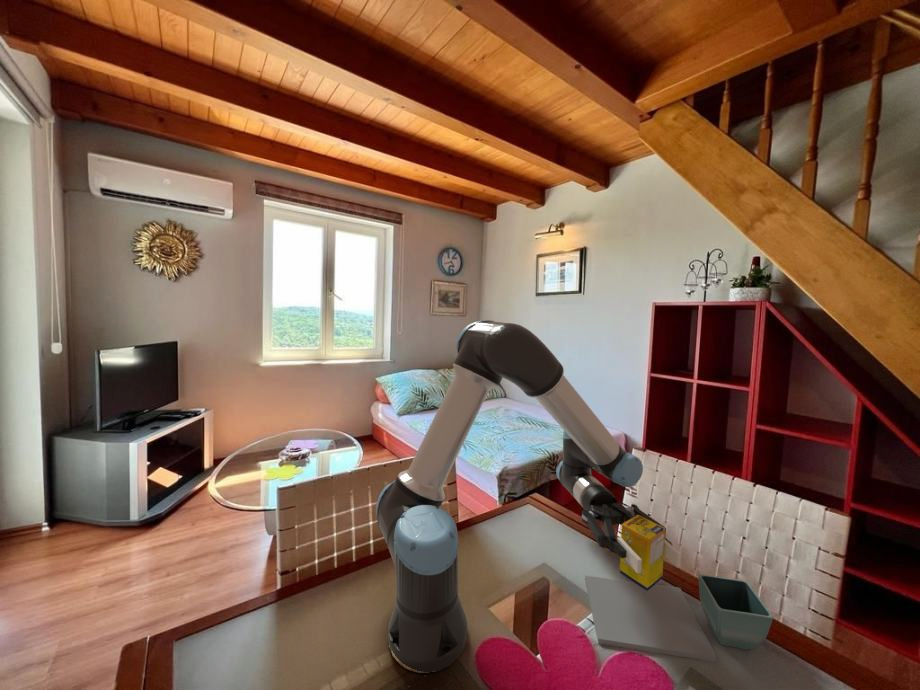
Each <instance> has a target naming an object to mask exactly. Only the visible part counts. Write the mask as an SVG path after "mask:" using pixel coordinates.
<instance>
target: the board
mask: <svg viewBox="0 0 920 690" xmlns="http://www.w3.org/2000/svg"><path fill="white" fill-rule="evenodd" d="M584 580H585V585H586V591H587V597H588V601H589V605H590V612H591V614H592V621H593V624H594V630H595V634H596V639H597V644H599V645H607V646H612V647H620V648H625V649H631V650H632V649H633V650H637V651H645V652H650V653H657V654H664V655H670V656H676V657H680V658H681V657H683V658H688V659H693V660H694V659H695V660H701V661H707V662H708V661H709V662H714V663H717V654H716V653H715V651H714V649H713V647H712V645H711V644H710V642H709V640H708V638H707V636H706V634H705V632H704V631H703V629H702V626H701V625H700V623H699V621H698V619H697V617H696V616H695V613H694V611H693V610H692V608H691V606H690V604H689V603H688V600H687V598H686V597H685V595H684V593H683V591H682V589H681V587H677V586H668V585H661V584H655V585H654V586H653V587H651V588H650V589H649V590H648V591H646V590H645V589H643V588H641V587H640V586H638V585H637V584H635V583H634V582H632V581H631V580H621V579H616V578H615V579H614V578H607V577H600V576H599V577H598V576H592V575H585V576H584Z"/></svg>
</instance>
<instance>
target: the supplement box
mask: <svg viewBox="0 0 920 690" xmlns="http://www.w3.org/2000/svg"><path fill="white" fill-rule="evenodd" d="M664 527H665V526H664ZM664 527H662V526H660V525H658V524H656V523H654V522H652V521H650V520H648V519H646V518H644V517H642V516H640V515H636V516H635V517H633V518H631V519H630V520H628V521H626V522H625V523H623V524H622V525H621V536H620V537H621V538H622V539H623V540H624V541H625V542H626V543H627V544H628V545H629V547H630V548H631V549H632V550H633V551H634V552H635V553H636V554H637V555H638V556H639V557H640V558H641V559H642V563H641V573H636V571H635V570H634V569H633V568H632V567H631V566H630V565H629V563H628V562H627V561H626V560H625V559H624V558H621V557H619V559H620V560H619V574H620V575H622V576H623V577H625V578H626V579H628V581H631V582H634V583H635V584H637V585H638V586H640V587H641V588H643V589H645V590H646V591H648V590H649V589H650V588H651V587H653V586H654V585H657V583H659V581H661V580H662V579H663V574H664V573H663V571H664V558H665V556H664V543H665V528H666V527H665V528H664Z"/></svg>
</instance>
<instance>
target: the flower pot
mask: <svg viewBox="0 0 920 690" xmlns="http://www.w3.org/2000/svg"><path fill="white" fill-rule="evenodd" d="M698 590H699V600H700V604H701V608H702V611H703V613H704V616H705V617H706V620H707V622H708V623H709V626H710V628H711V629H712V630H711V631H713V633H714V635H715V637H716V640H717V641H718V643H719V644H720V645H722V646H727V647H732V648H738V649H744V650H745V649H746V650H752V649H755V648H757V647H759V646H761V645H762V644H763V642H764V641H765V640H766V638H767V636H768V634H769V632H770V631H769V630H770V628H771V625H772V623H773V619H774V616H773V614H772V612H771V611H770V610H769V608H768V607H767V606H766V605H765V603H764V602H763V601H762V599H761V598H760V597H759V595H758V593H756V592H755V590H754V589H753V587H752V586H751V584H750V583H749V582H748V581H747V580H743V579H737V578H728V577H721V576H715V575H708V574H698Z"/></svg>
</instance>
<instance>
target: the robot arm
mask: <svg viewBox="0 0 920 690" xmlns="http://www.w3.org/2000/svg"><path fill="white" fill-rule="evenodd" d="M456 351H457V356H456V358H455V360H454V362H453V364H452V366H453V369H454V372H455V374H454V377H453V378H452V381H451V383H450V385H449V386H448V389H447V391H446V393H445V395H444V396H443V399H442V400H441V403H440V405H439V407H438V409H437V411H436V413H435V415H434V416H433V419H432V420H431V424H430V425H429V427H428V429H427V432H426V433H425V436H424V437H423V439H422V442H421V443H420V446H419V447H418V449H417V451H416V454H415V456H414V457H413V460H412V461H411V464H410V465H409V468H408V469H405V470H403V471H401V472H399V473H398V474H397V477H396V478H395V480H393V481H392V482H391V483H388V484H387V485H386V486H385V487H384V488H383V489H382V491H381V492H380V494H379V496H378V499H377V501H376V505H375V514H376V520H377V525H378V526H379V529H380V531H381V533H382V536H383V538H384V540H385V543H386V545H387V548H388V551H389V554H390V556H391V558H392V561H393V564H394V568H395V569H394V571H395V588H396V589H395V596H396V600H395V603H394V606H393V609H392V613H391V616H390V618H389V623H388V626H387V627H388V629H387V642H388V641H389V645H390V648H391V650H392V651H393V653H394V654H395V656H396V657H397V658H398V659H399V660H400V661H401V662H402V663H403V664H405V665H406V666H408V667H410V668H412V669H415V670H417V671H421V672H422V671H423V672H432V671H438V670H441V671H443V670H445V669H446V667H447V666H448V667H450V666H452V665H453V664H454V663H455V662H456V661H457V660H458V659H459V658H460V656H461V655H462V653H463V652H462V651H464V650H463V649H465V647H466V644H467V641H466V640H467V639H468V622H467V616H466V614H465V610H464V608H463V605H462V603H461V599H460V597H459V595H458V594H459V593H458V592H459V590H458V589H459V588H458V587H459V585H458V584H459V581H458V580H459V577H458V576H459V537H458V535H459V534H458V529H457V524H456V522H455V520H454V518H453V516H452V515H451V514H450V513H449V512H448V511H447V510H445V509H443V508H441V507H442V504H443V502H444V501H445V498H446V496H445V495H446V494H445V491H444V488H443V487H444V485H445V482H446V480H447V479H448V476H449V475H450V472H451V470H452V469H453V466H454V463H455V462H456V459H457V458H458V455H459V454H460V451H461V449H462V448H463V445H464V443H465V441H466V439H467V436H468V435H469V432H470V431H471V429H472V427H473V425H474V422H475V420H476V418H477V416H478V415H479V413H480V410H481V409H482V405H483V404H484V402H485V400H486V398H487V395H488V393H489V392H490V391H491V390H494V389H497V388H498V387H499V386H500V383H501V381H502V380H503V379H504V380H505V379H506V380H507V381H509V382H510V383H513V384H514V385H516V386H517V387H518V388H519V389H520V390H521V391H522V392H523V393H524V394H525V395H526V396H527V397H530V398H535V400H537V401H538V403H539V404H540V405H541V406H542V407H543V408H544V409H545V410H546V412H547V413H548V414H549V416H551V417H552V419H554V421H555V422H556V423H557V424H558V425H559V426H560V427H561V429H562V430H563V436H562V460H561V461H560V462H559V463H558V465H557V468H556V477H557V479H558V480H559V482H560V484H561V485H562V487H564V488H565V489H566V490H567V491H568V493H570V495H571V496H572V497H573V499H575V500H576V501H577V503H578V504H579V505H580V506H581V508H583V509H582V511H581V521H582V523H584V524H585V525H586V526H587V527H588V528H589V531H590V532H591V534H592V535H593V538H594V539H595V541H596V542H597V544H598V546H599V548H602V549H605V548H606V547H609V548H608V550H609V552H610V553H615V554H616V555H617V556H619V558H620V557H621V558H624V559H625V560H626V561H627V562H628V563H629V565H630V566H631V567H632V568H633V569H634V570H635V571H636V573H641V563H642V559H641V558H640V557H639V556H638V555H637V554H636V553H635V552H634V551H633V550H632V549H631V548H630V547H629V545H628V544H627V543H626V542H625V541H624V540H623V539H622V538H621V536H620V537H617V535H616V533H615V528H614V526H616V525H620V526H622V524H623V523H625V522H626V521H628V520H630V519H631V518H633V517H635V516H636V515H640V516H642V517H644V518H646V519H648V520H650V521H652V522H654V523H656V524H658V525H660V526H662V527H664V528H665V543H664V558H665V557H666V559H667V560H669V561H670V562H671V563H672V564H673V565H674V566H675V567H676V568H681V566H682V565H681V564H682V563H681V562H682V553H681V552H680V551H679V550H677V549H676V548H675V547H674V545H673V544H672V542H671V541H669V539H668V538H666V535H667V528H666V526H664V525H663V524H661V523H659V522H658V521H657V520H655V519H654V518H652V517H651V516H649V515H648V514H647V513H645V512H644V511H642V510H641V509H640V508H639V506H638V505H637V504H634V503H633V504H632V503H631V505H630V507H625V505H623V504H621V503H620V502H618V500H617V498H616V495H614V493H612V492H611V491H610V490H609V489H608V488H607V487H605V486H604V484H603V483H602V482H600V481H599V480H598V479H597V478H596V477H595V476H593V475H592V470H594V471H595V472H597V473H598V474H600V475H602V476H603V477H605V478H607V479H609V480H610V481H612V482H613V483H614V484H615V483H616V484H618V485H620V486H622V487H625V488H631V487H634V486H635V485H636V484H638V482H639V481H640V479H642V476H643V471H644V468H643V467H644V466H643V462H642V461H641V459H640V458H639V457H638V456H636V455H634V454H633V453H631V452H628V451H626V450H625V449H624V448H623V447H622V446H621V445H620V444H619V443H618V441H617V440H616V438H614V436H613V435H612V434H611V433H610V432H609V430H608V429H607V428H606V426H605V425H604V423H602V421H601V420H600V419H599V418H598V416H597V415H596V414H595V413H594V411H593V410H592V409H591V408H590V406H589V405H588V404H587V403H586V401H585V400H584V399H583V397H582V396H581V395H580V394H579V392H578V391H577V389H576V388H575V387H574V386H573V385H572V383H570V382H569V380H568V379H567V378H566V376H565V374H564V372H565V369H564V366H563V365H562V364H561V362H560V361H559V360H558V359H557V357H556V356H555V354H553V352H552V351H551V350H550V348H549V347H547V346H546V344H545V343H544V342H543V341H542V340H541V339H540V338H539V337H538V336H537V335H536V334H534V333H533V331H531V330H529V329H528V328H527V327H525V326H523V325H520V324H517V323H511V322H499V321H495V320H489V319H487V320H485V319H484V320H477V321H474V322H471V323H469V324H468V325H467V326H465V327H464V328H463V330H462V331H461V332H460V334H459V335H458V338H457V341H456ZM598 521H599V522H601V524H602V527H603V529H602V527H601V526H600V524H599V522H598ZM389 645H388V646H389ZM460 654H461V655H460ZM457 658H458V659H457ZM448 667H447V668H448ZM444 668H445V669H444ZM442 669H443V670H442ZM438 672H439V671H438Z"/></svg>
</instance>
